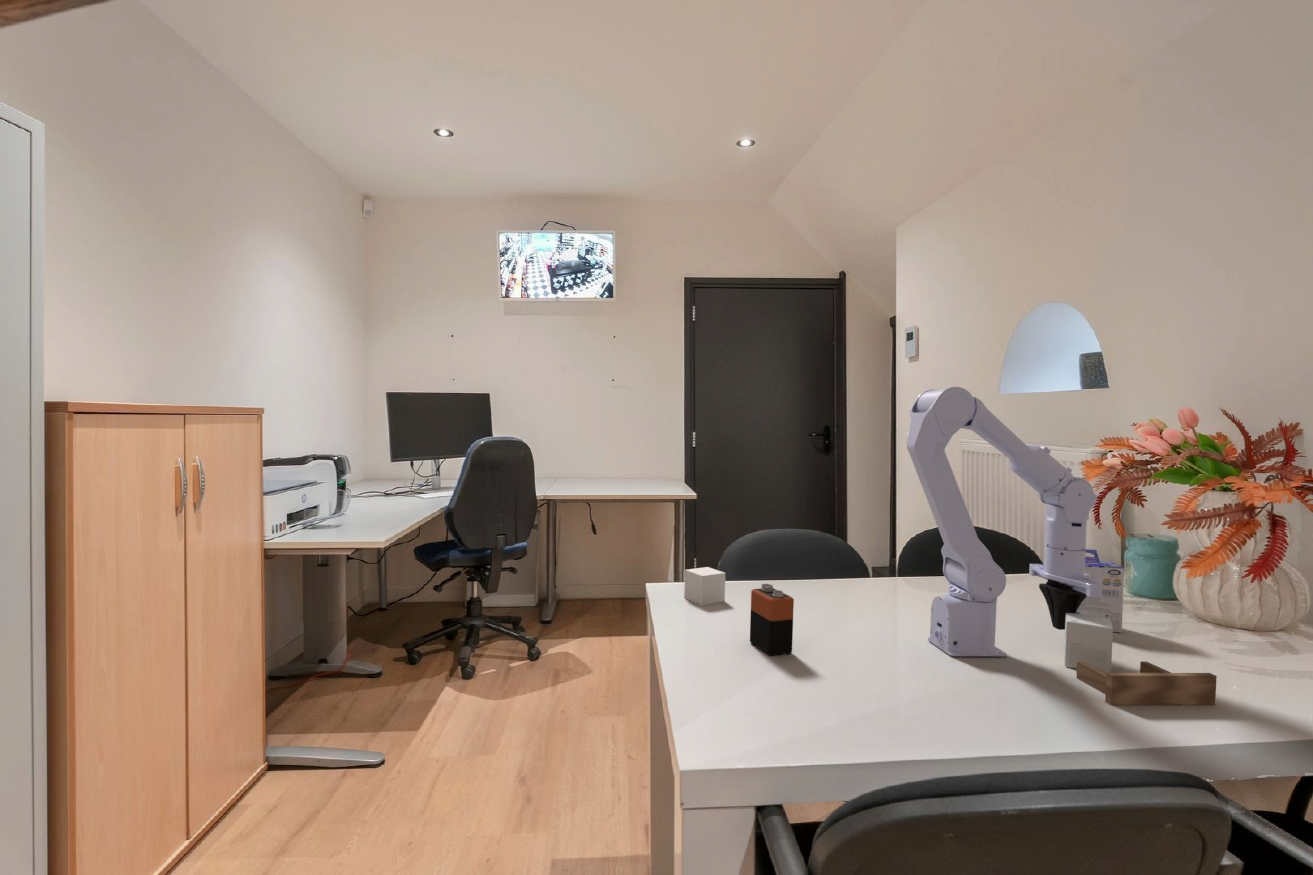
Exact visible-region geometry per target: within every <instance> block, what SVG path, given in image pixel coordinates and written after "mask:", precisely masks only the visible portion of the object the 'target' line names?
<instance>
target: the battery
mask: <svg viewBox="0 0 1313 875" xmlns="http://www.w3.org/2000/svg"><path fill="white" fill-rule="evenodd" d="M750 592H751V594H750V599H751V600H750V620H749V621H750V624H749V626H750V627H749V642H750V643H751V644H752V645H754V646H755V647H757V648H758V649H760V650H761V651H762V652H764V653H766V654H767V655H769V656H779V655H788V654H792V653H793V639H794V638H793V633H794V632H793V630H794V627H793V626H794V603H795V602H794V600H795V599H794V598H793V596H790V595H788V594H787V593H784V591H783V590H780V589H776V588H774V585H773V584H770V583H761V588H754V589H751V591H750Z"/></svg>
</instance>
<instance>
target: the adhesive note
mask: <svg viewBox="0 0 1313 875" xmlns="http://www.w3.org/2000/svg"><path fill="white" fill-rule="evenodd" d="M683 596H684V597H683V598H684V599H686V600H689V601H691V602H693V603H696V604H698V605H700V606H705V605H709V604H710V605H712V604H716V603H723V602H725V599H726V572H724V571H721V570H717V569H715V568H712V567H709V566H705V567H698V568H690V569H685V570H684V595H683Z"/></svg>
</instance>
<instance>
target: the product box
mask: <svg viewBox="0 0 1313 875" xmlns="http://www.w3.org/2000/svg"><path fill="white" fill-rule="evenodd" d="M1113 637H1114V632H1113V626H1112V623H1111V621H1110V619H1108V618H1103V617H1096V616H1088V615H1081V614H1074V613H1066V617H1065V630H1064V643H1063V644H1064V645H1063V664H1064V666H1065V667H1067V668H1071V669H1075V670H1077V661H1084V662H1086V663H1088V664H1090V665H1091V666H1093V667H1095V668H1097V669H1099V670H1101V671H1103V672H1105V673H1112V663H1113V662H1112V660H1113V659H1112V657H1113V656H1112V655H1113Z"/></svg>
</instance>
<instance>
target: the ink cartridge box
mask: <svg viewBox="0 0 1313 875" xmlns="http://www.w3.org/2000/svg"><path fill="white" fill-rule="evenodd" d="M1086 553H1088V554H1091V555H1093V556H1085V572H1084V573H1085V574H1088V575H1090V579H1091V580H1093V581H1094V582H1096V583H1098V584H1101V585H1103V590H1102V597H1089V596H1087V597H1086V598H1085V599H1084V600H1083V601H1082V603H1081V604H1080V606H1079V608H1078V609H1077V611H1076V614H1081V615H1088V616H1096V617H1103V618H1108V619H1110V621H1111V623H1112V626H1113V633H1122V632H1123V612H1124V611H1123V608H1124V607H1123V606H1124V605H1123V604H1124V580H1125V579H1124V577H1125V568H1124V567H1123V566H1121V565H1118V564H1116V563H1114V562H1110V561H1100V558H1099V554H1098V551H1097V549H1089V548H1088V549H1087V548H1086V549H1085V554H1086Z"/></svg>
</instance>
